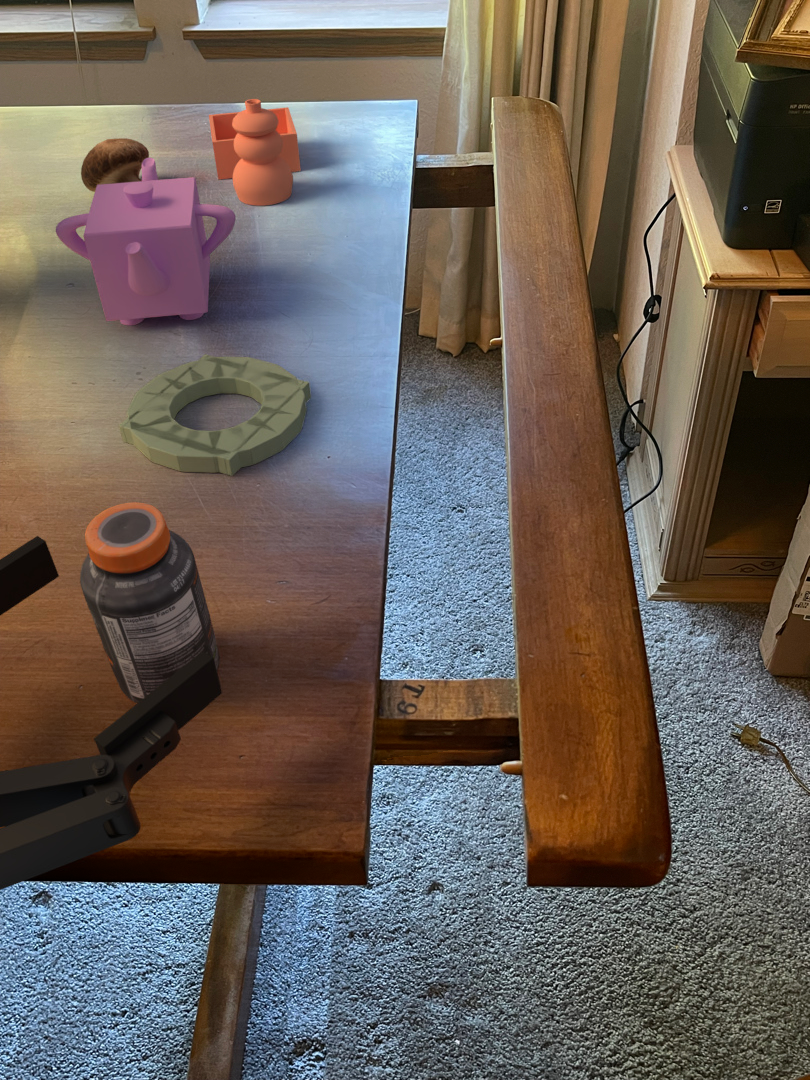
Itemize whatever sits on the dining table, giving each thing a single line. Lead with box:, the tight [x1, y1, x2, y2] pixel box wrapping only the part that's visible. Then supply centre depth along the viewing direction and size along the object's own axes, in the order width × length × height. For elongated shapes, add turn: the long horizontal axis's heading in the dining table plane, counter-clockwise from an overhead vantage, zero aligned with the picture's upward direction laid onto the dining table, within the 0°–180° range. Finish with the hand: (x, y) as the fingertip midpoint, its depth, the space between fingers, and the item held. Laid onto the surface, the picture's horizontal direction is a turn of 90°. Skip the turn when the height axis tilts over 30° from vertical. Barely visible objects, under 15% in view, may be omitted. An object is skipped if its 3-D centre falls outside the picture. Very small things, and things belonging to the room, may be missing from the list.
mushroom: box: [80, 137, 150, 193], centre depth 105 cm, size 8×8×6 cm
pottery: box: [208, 98, 301, 207], centre depth 106 cm, size 18×10×10 cm, turn 11°
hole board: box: [118, 353, 312, 477], centre depth 73 cm, size 13×13×2 cm
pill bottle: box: [79, 501, 221, 704], centre depth 51 cm, size 6×6×11 cm
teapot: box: [55, 157, 236, 326], centre depth 84 cm, size 15×13×11 cm
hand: (126, 609), depth 50 cm, fingers open, 13 cm apart
